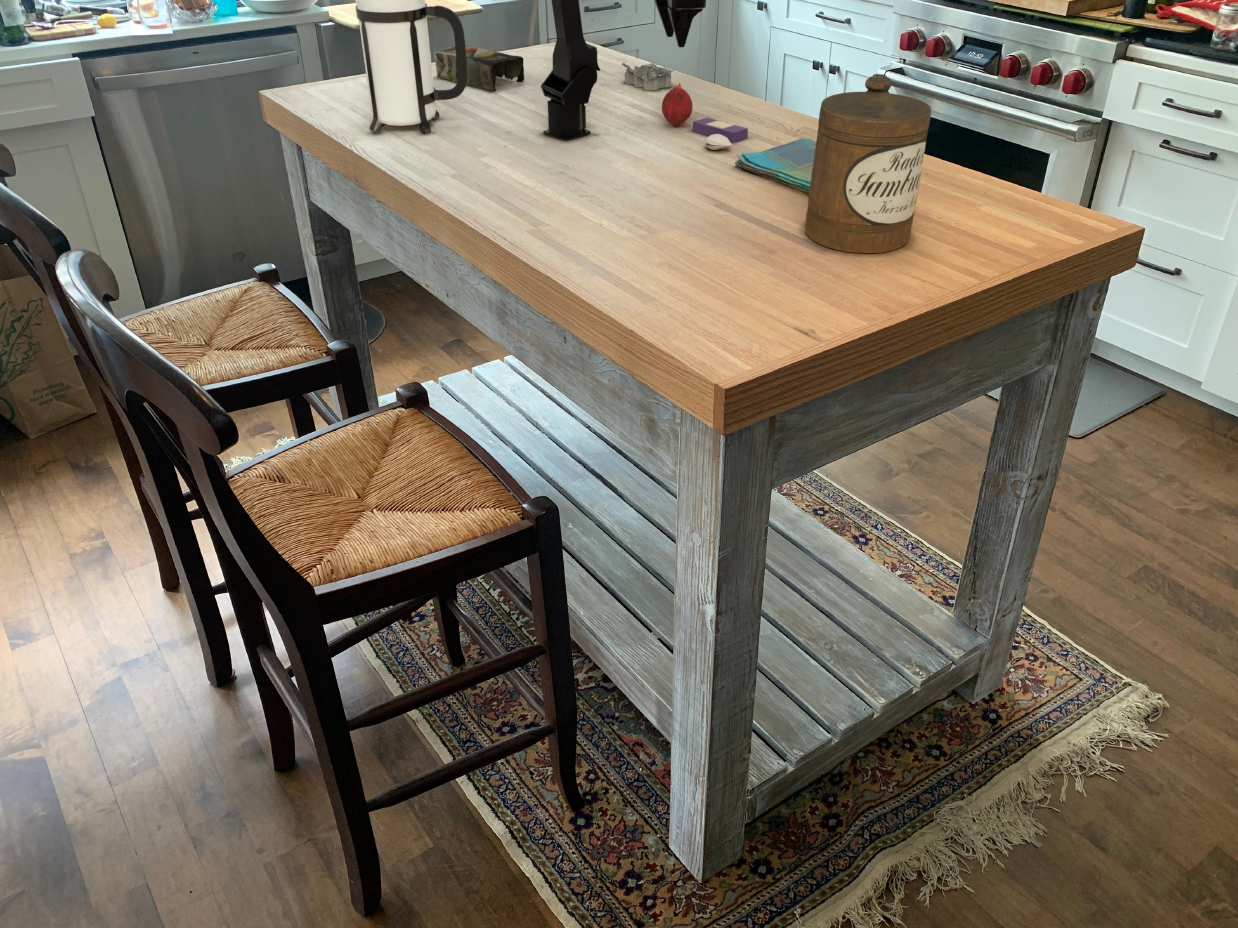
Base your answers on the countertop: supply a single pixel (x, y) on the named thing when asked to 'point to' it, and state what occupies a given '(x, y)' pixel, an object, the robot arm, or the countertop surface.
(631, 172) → the countertop surface
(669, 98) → the onion
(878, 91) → the wooden container
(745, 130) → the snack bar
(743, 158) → the dish towel
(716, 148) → the white clam shell
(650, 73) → the egg carton
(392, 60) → the coffee press
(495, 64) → the juice carton
